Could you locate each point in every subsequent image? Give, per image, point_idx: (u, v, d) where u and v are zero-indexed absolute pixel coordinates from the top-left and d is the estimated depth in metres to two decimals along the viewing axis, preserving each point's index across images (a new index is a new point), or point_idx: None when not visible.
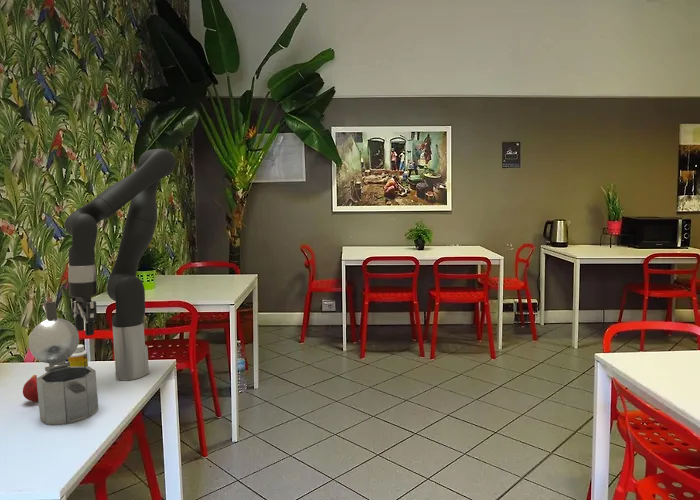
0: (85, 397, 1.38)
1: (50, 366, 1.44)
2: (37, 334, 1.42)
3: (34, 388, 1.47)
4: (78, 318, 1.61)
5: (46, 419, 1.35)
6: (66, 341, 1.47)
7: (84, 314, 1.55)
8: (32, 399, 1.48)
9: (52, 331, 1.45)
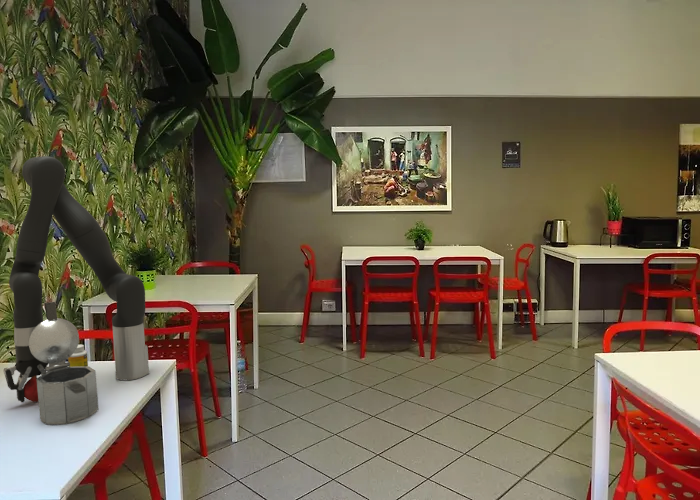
0: (85, 397, 1.38)
1: (50, 366, 1.44)
2: (37, 334, 1.42)
3: (34, 388, 1.47)
4: (22, 388, 1.47)
5: (46, 419, 1.35)
6: (66, 341, 1.47)
7: None
8: (32, 399, 1.48)
9: (52, 331, 1.45)
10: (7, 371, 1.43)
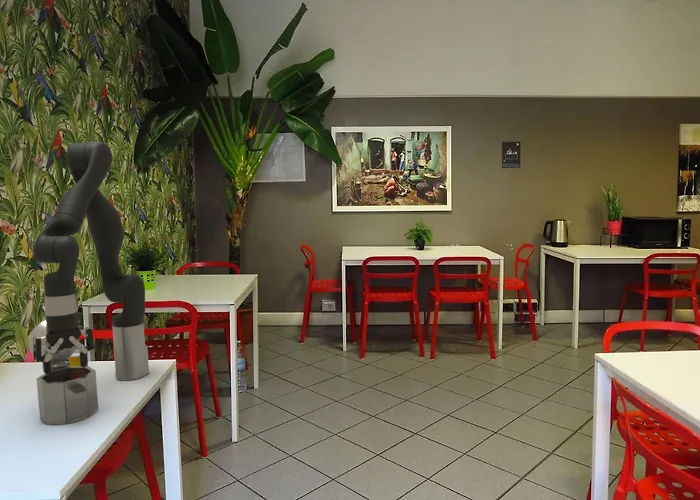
0: (85, 397, 1.38)
1: None
2: (37, 334, 1.42)
3: None
4: None
5: (46, 419, 1.35)
6: None
7: (81, 344, 1.42)
8: None
9: None
10: (37, 340, 1.34)
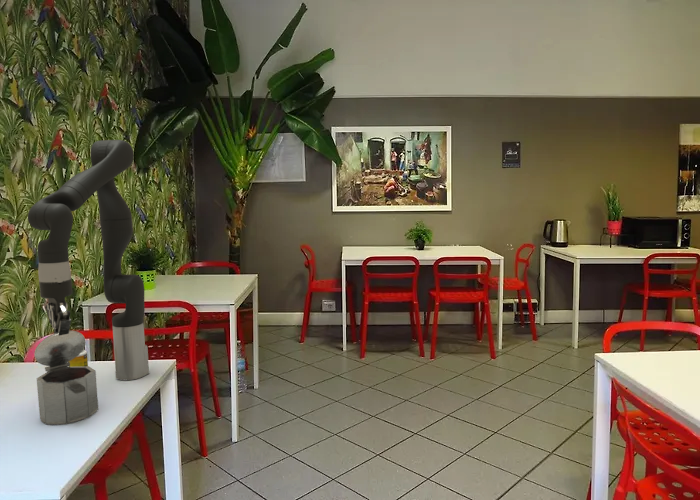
0: (85, 397, 1.38)
1: (50, 367, 1.44)
2: (45, 346, 1.38)
3: None
4: None
5: (46, 419, 1.35)
6: (72, 349, 1.44)
7: None
8: None
9: (61, 342, 1.40)
10: (69, 312, 1.37)
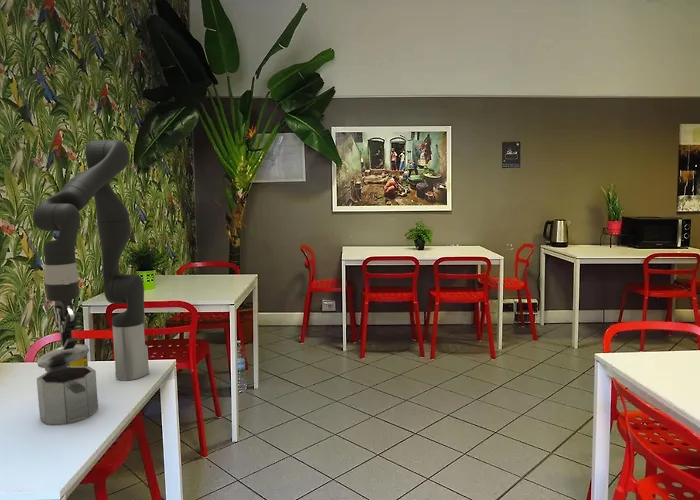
0: (85, 397, 1.38)
1: (51, 368, 1.44)
2: (49, 357, 1.36)
3: None
4: None
5: (46, 419, 1.35)
6: (74, 356, 1.43)
7: None
8: None
9: (65, 353, 1.39)
10: (77, 315, 1.34)
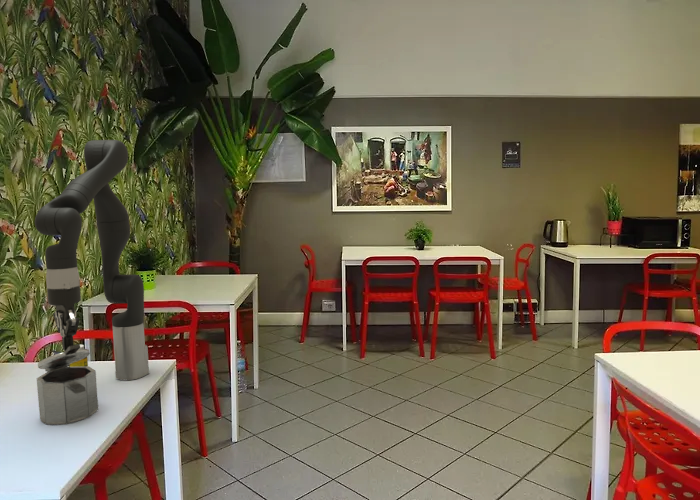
0: (85, 397, 1.38)
1: (51, 368, 1.44)
2: (50, 361, 1.36)
3: None
4: None
5: (46, 419, 1.35)
6: (75, 358, 1.43)
7: None
8: None
9: (66, 357, 1.39)
10: (78, 319, 1.33)
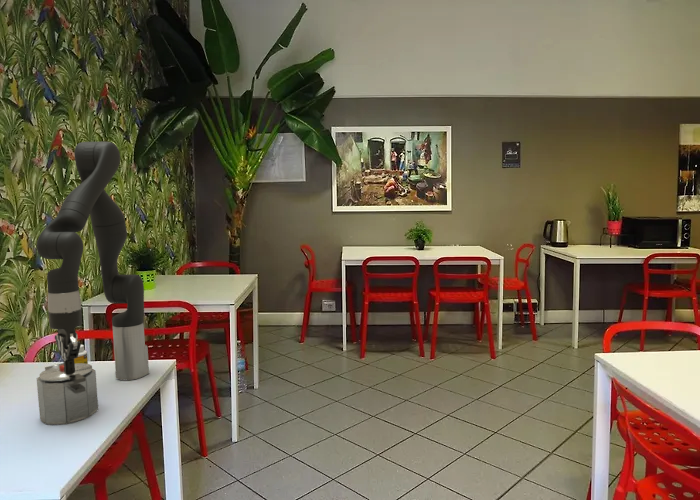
0: (85, 397, 1.38)
1: None
2: None
3: None
4: None
5: (46, 419, 1.35)
6: None
7: None
8: None
9: None
10: None
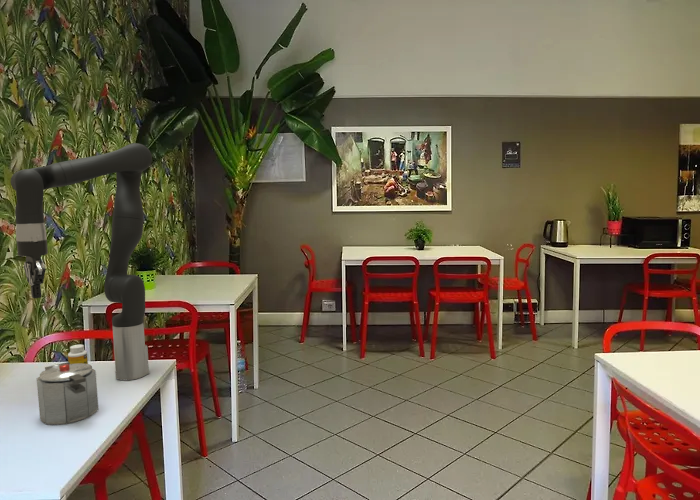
0: (85, 397, 1.38)
1: None
2: None
3: None
4: None
5: (46, 419, 1.35)
6: None
7: None
8: None
9: None
10: None
